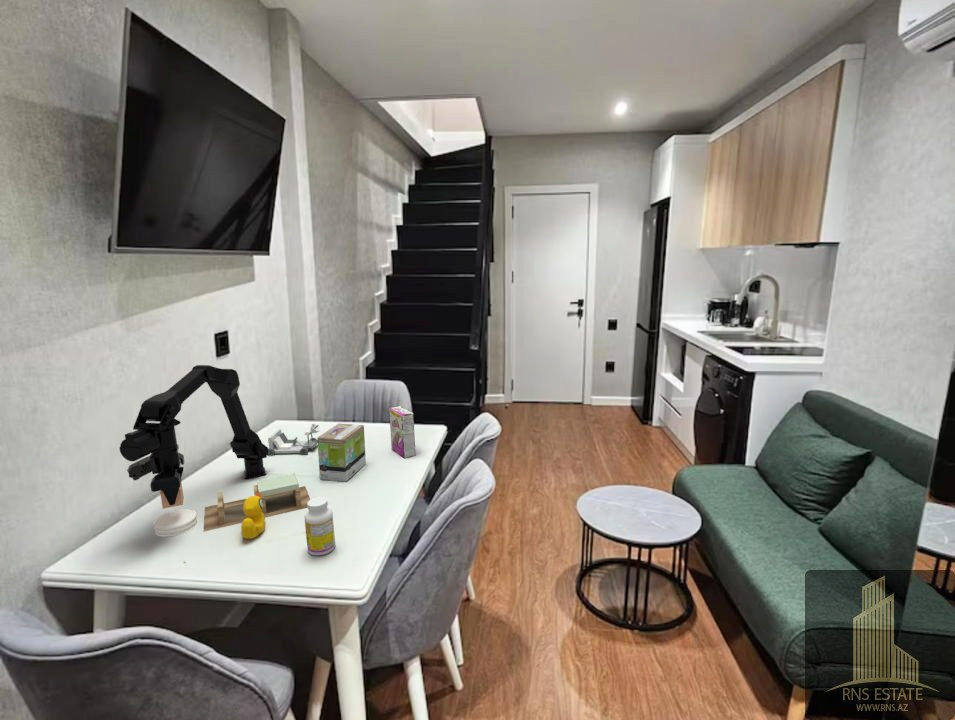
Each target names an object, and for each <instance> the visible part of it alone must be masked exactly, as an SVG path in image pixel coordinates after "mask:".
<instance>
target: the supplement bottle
mask: <svg viewBox="0 0 955 720" xmlns="http://www.w3.org/2000/svg"><path fill="white" fill-rule="evenodd" d="M328 505H329V504H328V499H327V498H326V497H323V496H321V497H314V498H312V499H311V498H310V500H309V501H308V503H307V506H308V508H307V509H308V510H307V511H306V512H305V514H304V525H305V526H304V527H305V536H306V537H305V538H306V546H307V551H308V553H309V554H310V555H313V556H323V555H327V554H329V553H331V552H332V551H333V550H334V549H335V547H336V538H335V537H336V536H335V525H334V515H333V513H334V512H333V510H332V509H331V507H328Z"/></svg>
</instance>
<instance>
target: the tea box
mask: <svg viewBox="0 0 955 720" xmlns="http://www.w3.org/2000/svg"><path fill="white" fill-rule="evenodd" d="M316 439H317V440H318V443H317V452H318V468H319V471H318V472H319V479H320V480H323V481H332V482H333V481H335V482H347V481H348V480H349V479H351V478H352V477H353V476H354V475H356V473H357V472H358V471H359V470H360V469H361V468H362V467H364V466H365V465H366V463H367V462H366V459H367V458H366V444H365V443H366V441H365V439H366V438H365V426H364V424H355V423H354V424H352V423H351V424H350V423H337V424H336V425H334V426H333V427H331V428H329V429H328V430H327V431H325V432H323V433H322V434H321V435H319V436H318V437H317V438H316Z"/></svg>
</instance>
